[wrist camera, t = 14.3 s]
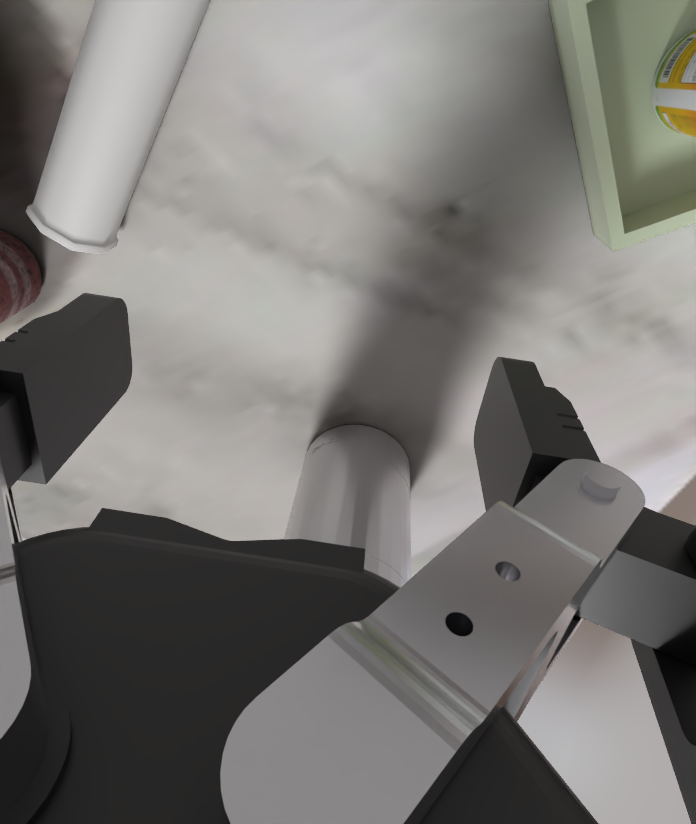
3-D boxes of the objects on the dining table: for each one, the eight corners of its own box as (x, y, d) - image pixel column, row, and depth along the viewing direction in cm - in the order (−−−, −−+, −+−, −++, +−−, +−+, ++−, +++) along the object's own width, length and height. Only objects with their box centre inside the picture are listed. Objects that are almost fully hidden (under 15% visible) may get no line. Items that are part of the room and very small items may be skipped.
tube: (155, -312, 24) (8, 206, 35) (251, -241, 23) (71, 258, 35) (223, -227, 28) (74, 206, 40) (304, -167, 28) (129, 251, 40)
